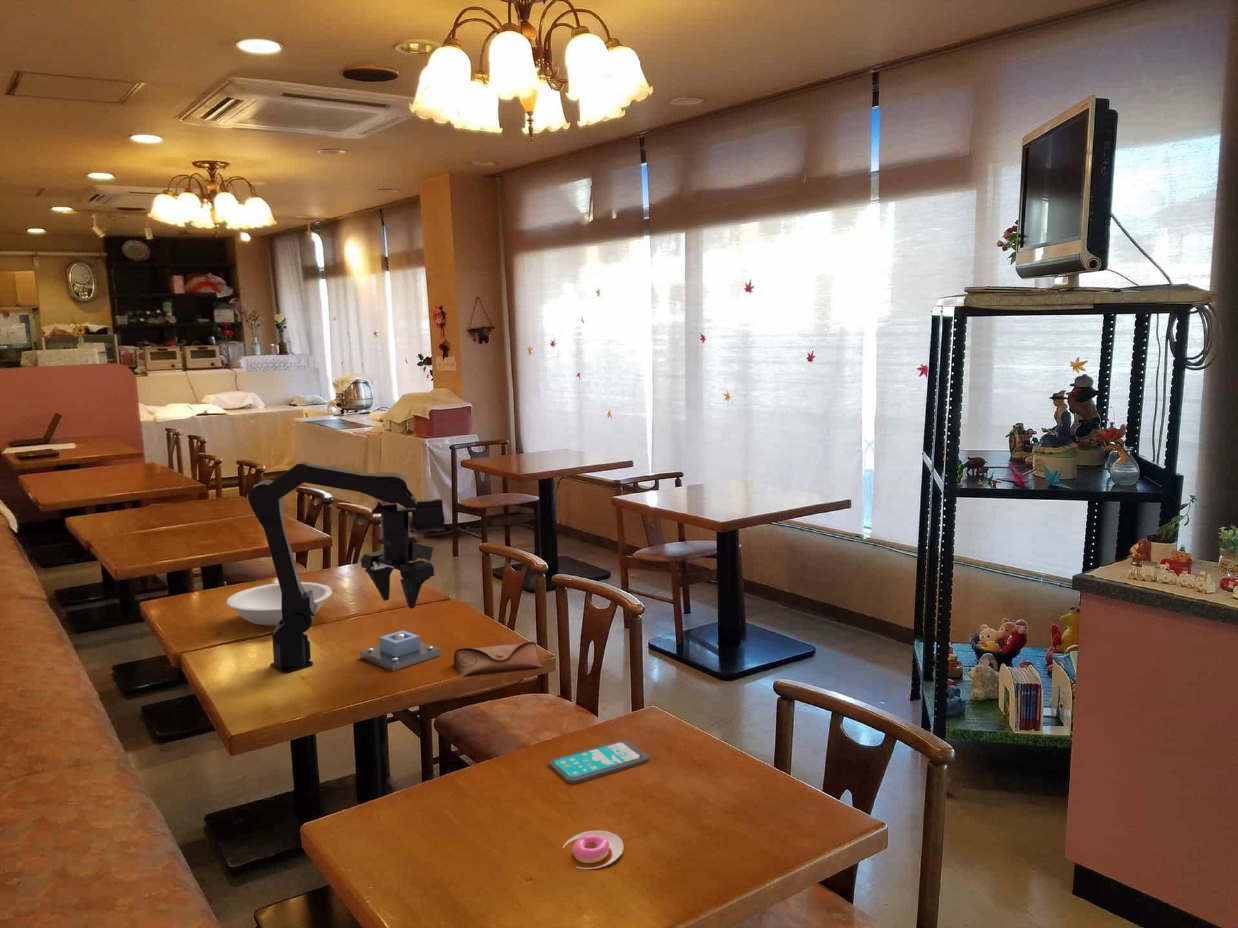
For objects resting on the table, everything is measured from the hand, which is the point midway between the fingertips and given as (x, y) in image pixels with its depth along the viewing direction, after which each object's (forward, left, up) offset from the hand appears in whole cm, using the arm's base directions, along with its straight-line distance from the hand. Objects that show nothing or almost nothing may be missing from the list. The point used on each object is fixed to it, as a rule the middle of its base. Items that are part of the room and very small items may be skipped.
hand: (398, 604), depth 188 cm
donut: (-26, -81, -13) cm, 86 cm away
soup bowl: (-4, +43, -12) cm, 45 cm away
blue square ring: (0, 0, -10) cm, 10 cm away
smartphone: (-8, -65, -12) cm, 67 cm away
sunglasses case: (+10, -20, -12) cm, 26 cm away
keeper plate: (0, 0, -12) cm, 12 cm away
